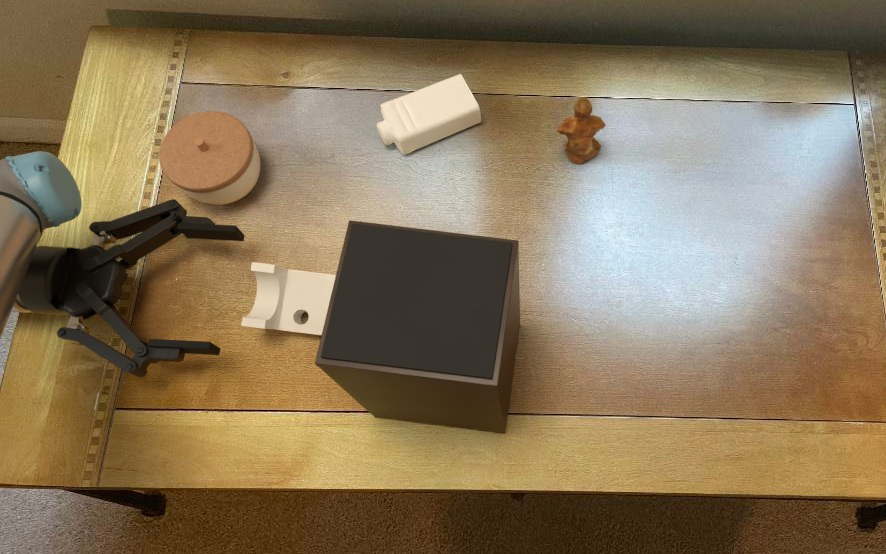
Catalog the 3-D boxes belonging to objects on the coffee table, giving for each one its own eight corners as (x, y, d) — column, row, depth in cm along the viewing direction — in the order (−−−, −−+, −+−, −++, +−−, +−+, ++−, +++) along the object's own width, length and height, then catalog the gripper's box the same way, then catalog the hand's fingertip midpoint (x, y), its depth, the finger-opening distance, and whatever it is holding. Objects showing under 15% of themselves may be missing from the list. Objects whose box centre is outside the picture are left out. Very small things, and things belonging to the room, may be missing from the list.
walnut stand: (505, 434, 81) (497, 386, 58) (374, 417, 81) (314, 363, 58) (520, 325, 86) (518, 240, 62) (396, 309, 86) (348, 219, 63)
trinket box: (171, 203, 90) (133, 166, 82) (211, 134, 94) (179, 91, 85) (248, 228, 89) (218, 193, 81) (286, 158, 93) (261, 117, 84)
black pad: (492, 379, 58) (492, 378, 57) (321, 358, 58) (320, 356, 58) (512, 244, 62) (512, 242, 62) (353, 225, 62) (352, 223, 62)
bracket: (268, 328, 86) (241, 325, 78) (277, 269, 86) (251, 262, 79) (374, 341, 85) (358, 340, 78) (383, 283, 86) (367, 276, 79)
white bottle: (373, 124, 95) (367, 106, 91) (461, 88, 97) (459, 69, 93) (392, 163, 93) (386, 146, 89) (482, 125, 95) (480, 107, 91)
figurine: (559, 135, 95) (563, 79, 84) (601, 141, 95) (612, 86, 84) (554, 164, 94) (558, 112, 82) (597, 171, 93) (607, 119, 82)
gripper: (86, 194, 87) (260, 204, 87) (24, 397, 78) (217, 407, 78) (48, 163, 80) (237, 173, 80) (-25, 382, 71) (187, 393, 71)
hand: (228, 289), depth 79 cm, fingers open, 13 cm apart
